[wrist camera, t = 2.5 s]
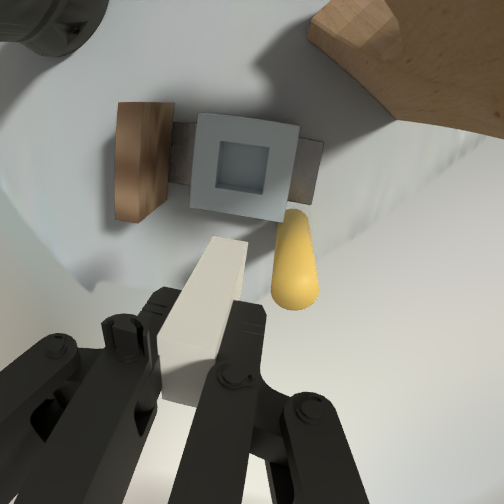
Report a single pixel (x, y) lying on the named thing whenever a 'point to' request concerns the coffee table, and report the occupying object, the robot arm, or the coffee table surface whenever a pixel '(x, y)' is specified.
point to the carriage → (243, 165)
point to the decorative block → (422, 57)
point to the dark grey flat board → (301, 174)
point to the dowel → (294, 263)
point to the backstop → (141, 158)
